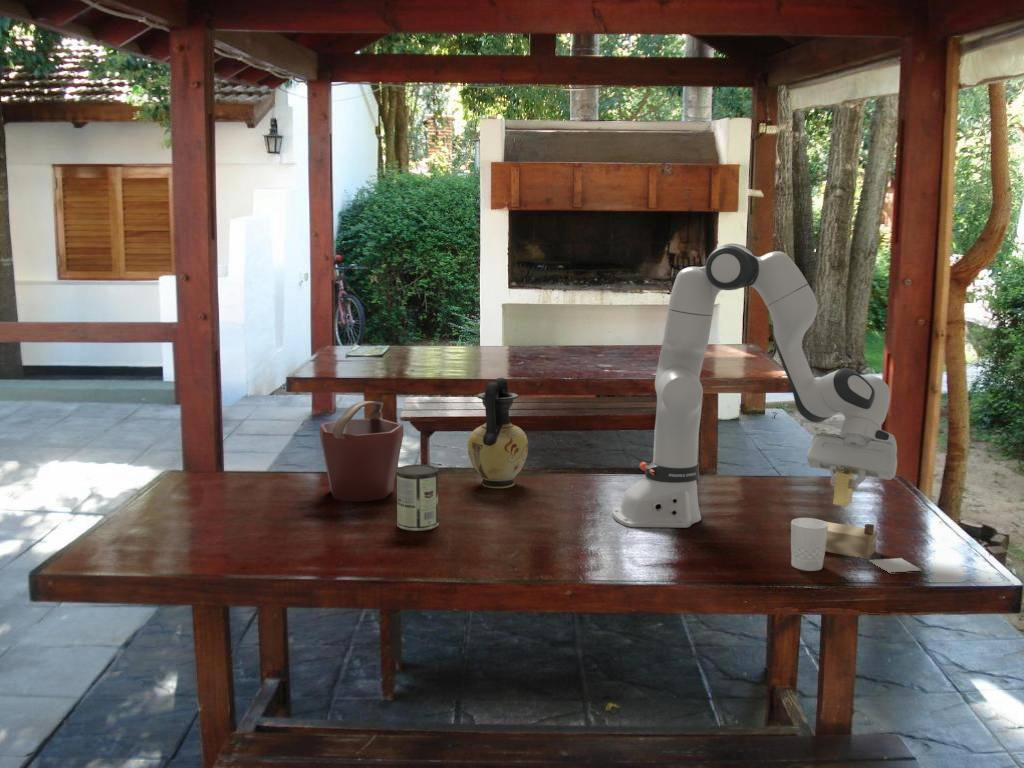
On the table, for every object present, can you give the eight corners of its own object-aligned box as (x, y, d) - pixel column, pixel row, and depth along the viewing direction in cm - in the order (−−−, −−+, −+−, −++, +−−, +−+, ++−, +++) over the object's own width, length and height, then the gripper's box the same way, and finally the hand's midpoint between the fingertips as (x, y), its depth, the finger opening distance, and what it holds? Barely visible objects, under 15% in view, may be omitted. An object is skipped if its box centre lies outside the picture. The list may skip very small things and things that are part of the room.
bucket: (364, 477, 309) (364, 392, 304) (423, 490, 296) (423, 401, 292) (301, 495, 289) (300, 404, 285) (361, 510, 276) (360, 415, 272)
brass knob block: (833, 504, 248) (836, 469, 246) (838, 499, 252) (841, 465, 250) (846, 506, 246) (849, 471, 245) (851, 502, 250) (854, 467, 249)
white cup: (783, 560, 242) (786, 517, 241) (817, 560, 243) (820, 517, 241) (795, 572, 235) (798, 528, 233) (830, 572, 235) (833, 528, 234)
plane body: (806, 547, 252) (808, 519, 250) (816, 540, 257) (817, 512, 256) (867, 559, 244) (869, 529, 243) (875, 551, 250) (877, 522, 249)
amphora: (472, 475, 313) (473, 374, 308) (529, 477, 311) (531, 375, 306) (463, 491, 296) (464, 384, 291) (524, 494, 294) (526, 386, 289)
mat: (888, 573, 235) (888, 571, 235) (869, 561, 242) (869, 559, 242) (921, 571, 236) (921, 569, 236) (901, 559, 244) (901, 558, 244)
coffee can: (409, 516, 272) (409, 462, 269) (445, 522, 267) (446, 467, 265) (388, 527, 262) (388, 471, 260) (425, 533, 258) (425, 476, 256)
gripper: (813, 424, 257) (796, 471, 251) (901, 436, 247) (886, 486, 240) (817, 439, 262) (801, 486, 255) (904, 452, 251) (889, 501, 245)
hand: (843, 486), depth 248 cm, fingers closed on brass knob block, 3 cm apart
